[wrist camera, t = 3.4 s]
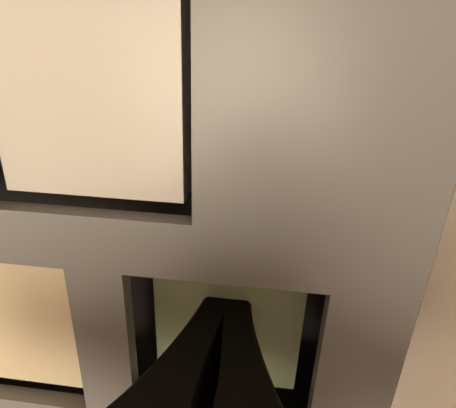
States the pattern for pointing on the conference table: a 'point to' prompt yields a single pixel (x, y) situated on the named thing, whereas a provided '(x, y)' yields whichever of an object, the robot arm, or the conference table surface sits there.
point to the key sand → (36, 327)
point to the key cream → (96, 98)
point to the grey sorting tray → (273, 198)
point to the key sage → (261, 314)
